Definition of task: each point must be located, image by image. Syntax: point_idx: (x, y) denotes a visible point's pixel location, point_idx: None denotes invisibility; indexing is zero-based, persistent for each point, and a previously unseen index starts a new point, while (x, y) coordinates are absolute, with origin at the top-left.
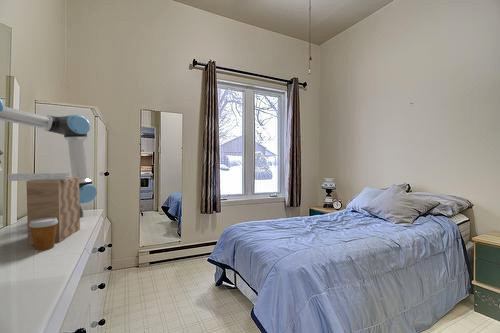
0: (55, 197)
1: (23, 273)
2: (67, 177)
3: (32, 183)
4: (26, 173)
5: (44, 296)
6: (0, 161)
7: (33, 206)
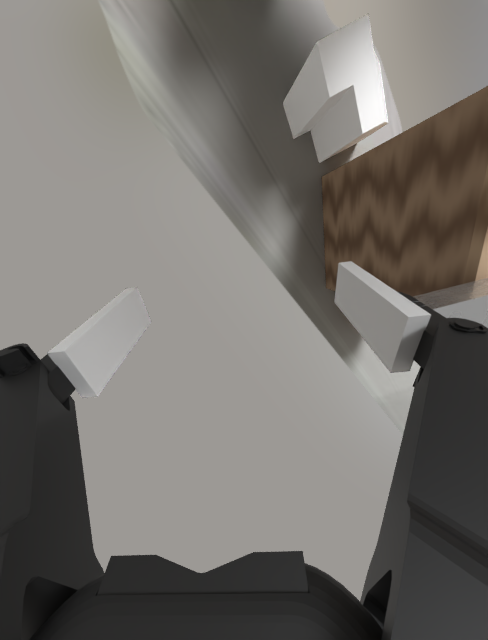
0: None
1: (380, 382)
2: None
3: None
4: (480, 297)
5: None
6: (413, 300)
7: None
